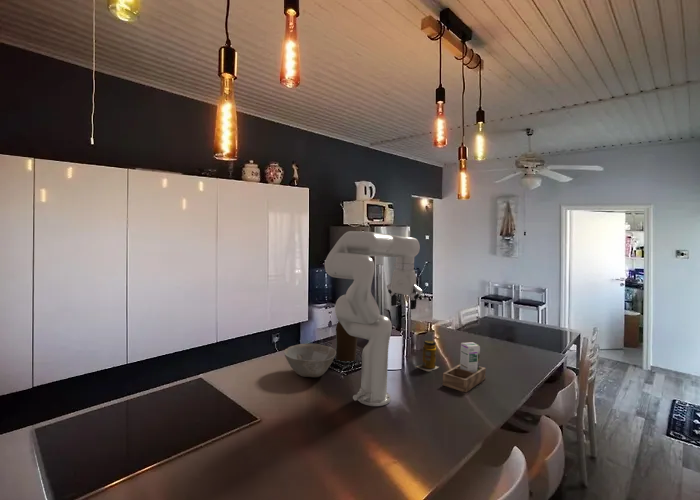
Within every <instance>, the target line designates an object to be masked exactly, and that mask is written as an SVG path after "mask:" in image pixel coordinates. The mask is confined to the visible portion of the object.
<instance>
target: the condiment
mask: <svg viewBox="0 0 700 500" xmlns="http://www.w3.org/2000/svg"><path fill="white" fill-rule="evenodd" d="M423 343H424V344H423V346H422V359H421V360H422V361H421V364H419V365H416V366H415V368H418V369H420V370H423V371H426V372H432V371H433V370H437V369H439V368H440V366H437V365H436V359H437V347H436V346H437V343H436V341H434V340H430V339H429V340H428V339H426V340H424V341H423Z"/></svg>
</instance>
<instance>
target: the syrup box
mask: <svg viewBox="0 0 700 500" xmlns="http://www.w3.org/2000/svg"><path fill="white" fill-rule="evenodd" d="M480 353H481V346H480V345H479V344H477V342H476V343H475V342H473V341H472V342H461V343H460V358H459V359H460V361H459V364H460V369H463V370H466V371H470V372H473V373H475V372H477V371H479V366H480V356H481V355H480Z"/></svg>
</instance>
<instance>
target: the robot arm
mask: <svg viewBox="0 0 700 500" xmlns="http://www.w3.org/2000/svg"><path fill="white" fill-rule="evenodd" d="M420 247H421V246H420V242H419V240H418V239H417V238H415V237H410V236H402V235H395V234H389V233H388V234H387V233H380V232H374V231H359V230H358V231H355V230H349V231H346V232H345V233H344V234H343V235H342V236H340V238H339V239H338V240H337V241H336V243H335V245H334V246H333V247H332V249H331V250H330V251H329V253H328V254H327V256H326V258H325V262H324V269H325V272H326V274H327V275H328V276H330V277H331V278H337V279H346V280H353V282H352V283H351V284H350V286H349V287H348V288H347V290H346V293H345V294H343V295H340V296H339V297H338V299H337V300H336V301H335V305H334V313H335V317H336V318H337V320H338V322H340V323H341V325H342V326H343V328H344V329H345V331H346V332H347V333H348V334H349V335H351V336H354V337H357V338H360V339H365V340H368V342H367V344H366V345H365V346H364V347H363V349H362V353H361V375H360V376H361V377H360V378H361V381H360V383H361V384H360V388H359V391H358V392H357V393H355V394H354V395H353V396H352V399H353V400H354V401H355V402H356V401H358V403H361V404H363V405H365V406H370V407H382V406H385V405H387V404H389V403H390V402H391V398H392V397H391V394H389V392H388V391H387V390H388V389H387V388H388V365H389V363H388V362H389V345H390V340H391V335H392V329H393V325H392V321H391V320H390V318H389V317H387V316H386V315H383V314H381V311H380V308H379V305H378V303H377V301H376V299H375V297H374V296H373V294H372V292H371V288H372V285H373V284H372V283H373V279H374V274H375V269H376V268H375V262H374V260H373V258H372V257H382V258H384V257H385V258H395V257H396V258H395V259H396V260H395V262H394V264H393V266H394V267H395V269H394V270H393V273H392V279H391V283H388V284H387V285H386V288H387V290H388V291H387V292H388V293H389V296H390V297H391V299H390V306H392V307H393V306H397V304H398V296H397V294H399V295H405V296H409V297H410V298H411V300H410V303H409V304H410V305H409V306H410V307H409V309H410V310H415V309H416V308H417V302H418V301H417V300H418V299H419V298H420V297H421V295H422V293H423V289H421V287H419V286H417V276H416V271H415V257H416V256H417V255H418V254H419V253H420V250H421V249H420Z"/></svg>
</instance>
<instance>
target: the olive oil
mask: <svg viewBox="0 0 700 500" xmlns="http://www.w3.org/2000/svg"><path fill="white" fill-rule="evenodd" d="M357 346H358V337H354V336H351V335H349V334H348V333H347V332H346V331H345V329H344V328H343V326H342V325H341V323H340V322H339V321H338V322H337V323H336V327H335V350H336V355H335V359H337V360H340V361H353V360H357V349H358V348H357Z"/></svg>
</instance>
